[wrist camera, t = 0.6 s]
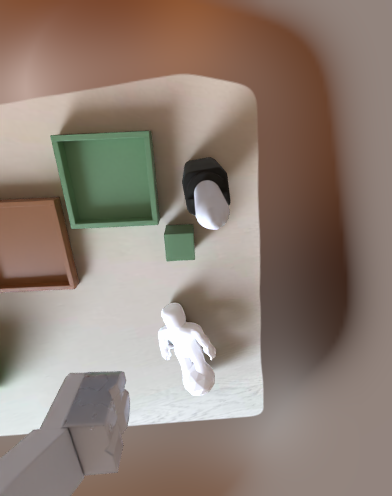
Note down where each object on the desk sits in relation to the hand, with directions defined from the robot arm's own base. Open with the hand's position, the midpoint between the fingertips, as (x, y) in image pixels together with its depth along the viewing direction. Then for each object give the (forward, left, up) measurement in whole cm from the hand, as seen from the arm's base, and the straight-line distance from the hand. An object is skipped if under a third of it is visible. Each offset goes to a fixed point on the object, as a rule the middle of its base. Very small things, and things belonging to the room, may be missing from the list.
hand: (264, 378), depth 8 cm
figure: (+32, -4, -39) cm, 50 cm away
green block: (+10, -4, -39) cm, 40 cm away
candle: (0, 0, -39) cm, 39 cm away
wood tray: (+10, -30, -39) cm, 50 cm away
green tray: (0, -14, -39) cm, 41 cm away
